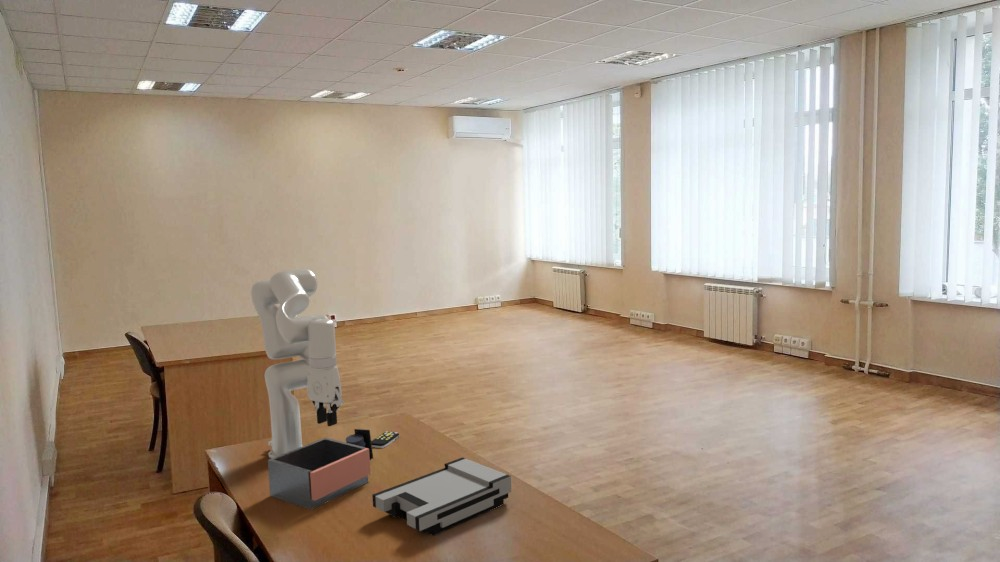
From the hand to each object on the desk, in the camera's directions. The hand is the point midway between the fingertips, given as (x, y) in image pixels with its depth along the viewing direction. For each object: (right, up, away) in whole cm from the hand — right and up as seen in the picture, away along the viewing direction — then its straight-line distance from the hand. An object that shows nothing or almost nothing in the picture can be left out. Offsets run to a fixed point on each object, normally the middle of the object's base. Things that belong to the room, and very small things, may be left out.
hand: (327, 423), depth 209 cm
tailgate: (+4, -18, 0) cm, 19 cm away
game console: (+35, -22, -11) cm, 43 cm away
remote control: (+9, -16, +45) cm, 49 cm away
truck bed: (-3, -21, +6) cm, 22 cm away
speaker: (+4, -18, +27) cm, 33 cm away
